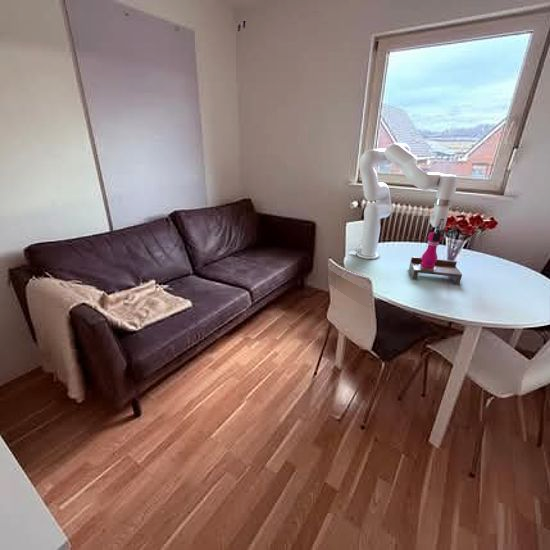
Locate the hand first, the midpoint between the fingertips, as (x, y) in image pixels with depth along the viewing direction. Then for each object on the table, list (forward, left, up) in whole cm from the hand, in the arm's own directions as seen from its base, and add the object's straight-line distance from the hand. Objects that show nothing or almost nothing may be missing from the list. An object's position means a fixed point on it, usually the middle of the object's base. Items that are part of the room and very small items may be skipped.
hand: (434, 238), depth 153 cm
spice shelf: (+4, 0, -21) cm, 21 cm away
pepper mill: (0, 0, -15) cm, 15 cm away
